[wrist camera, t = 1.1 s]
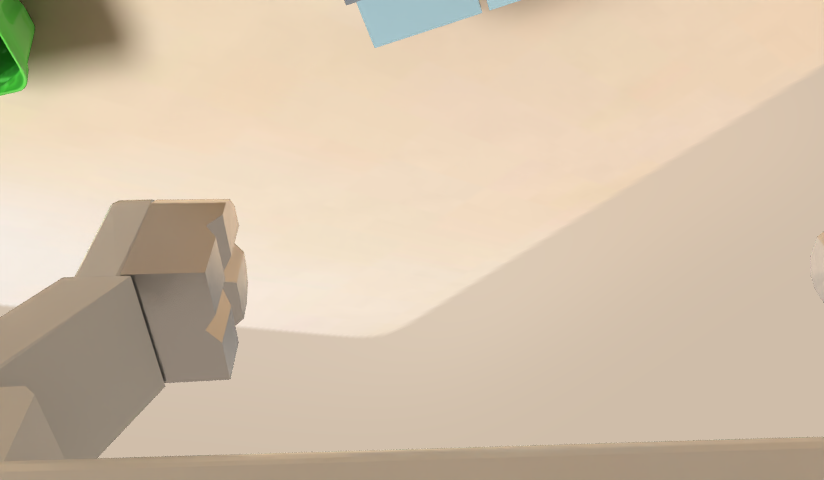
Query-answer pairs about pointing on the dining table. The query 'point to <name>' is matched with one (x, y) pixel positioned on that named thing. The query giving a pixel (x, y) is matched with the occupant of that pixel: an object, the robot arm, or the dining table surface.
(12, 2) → the fruit basket
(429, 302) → the dining table surface
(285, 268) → the dining table surface
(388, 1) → the blue grooved panel
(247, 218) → the dining table surface
